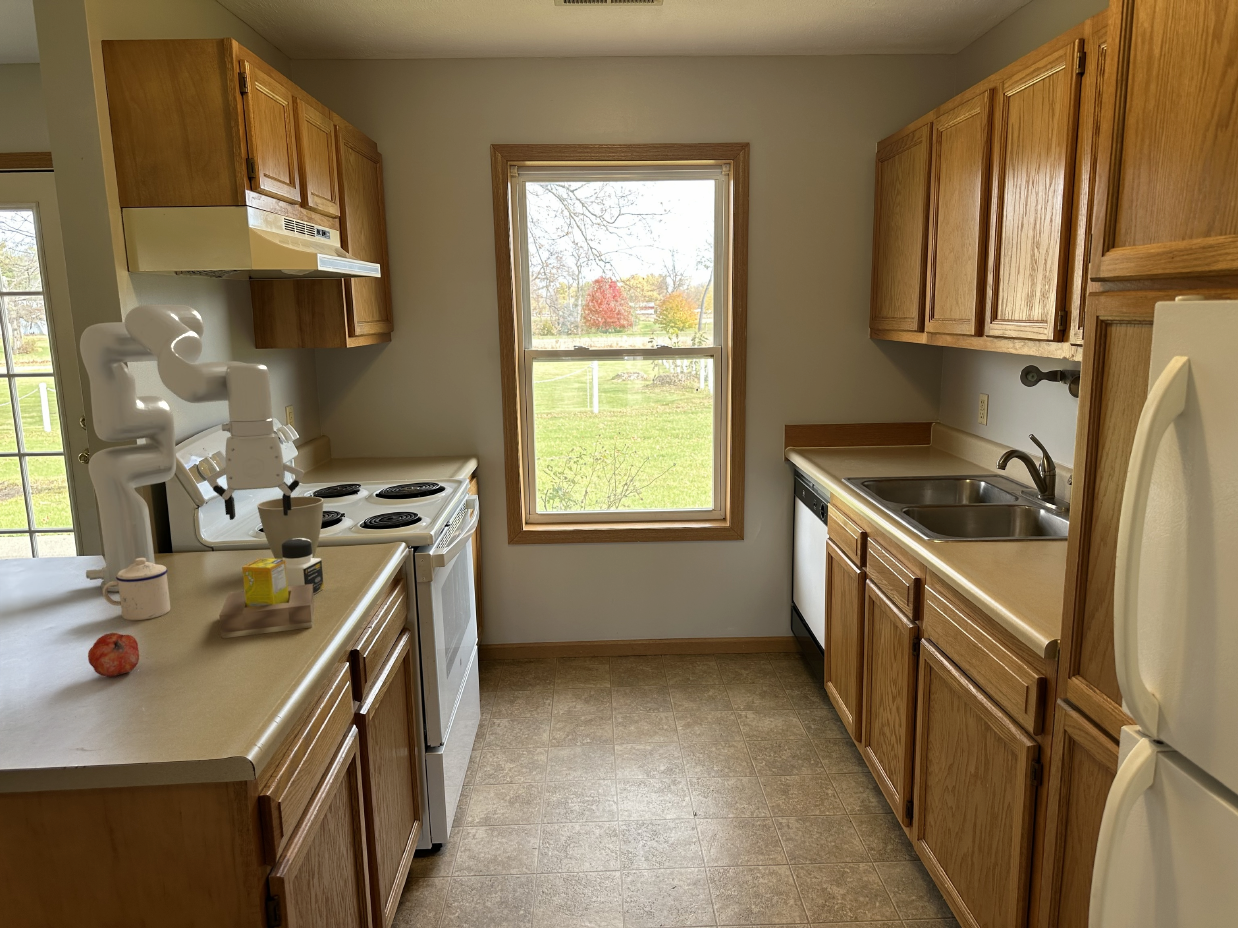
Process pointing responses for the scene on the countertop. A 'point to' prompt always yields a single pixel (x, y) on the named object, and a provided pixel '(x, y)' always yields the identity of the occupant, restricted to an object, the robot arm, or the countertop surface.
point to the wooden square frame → (267, 613)
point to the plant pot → (291, 522)
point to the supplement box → (265, 582)
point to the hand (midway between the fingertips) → (259, 516)
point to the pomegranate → (114, 654)
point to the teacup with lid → (141, 591)
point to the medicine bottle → (302, 564)
